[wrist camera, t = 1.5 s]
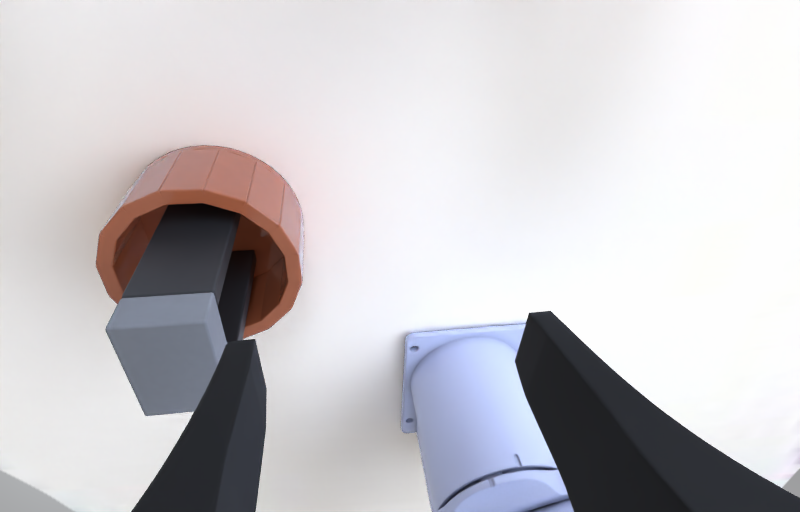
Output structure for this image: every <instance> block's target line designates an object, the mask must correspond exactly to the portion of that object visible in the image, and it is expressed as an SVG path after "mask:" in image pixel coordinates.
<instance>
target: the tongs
mask: <svg viewBox="0 0 800 512" xmlns="http://www.w3.org/2000/svg"><path fill="white" fill-rule="evenodd" d="M240 217H241V214H240V213H236V212H233V211H229V210H226V209H222V208H218V207H215V206H211V205H208V204H204V203H196V204H172V205H168V207H167V209H166V210H165V212H164V214H163V216H162V218H161V220H160V222H159V224H158V226H157V228H156V230H155V232H154V234H153V236H152V238H151V240H150V242H149V244H148V246H147V248H146V250H145V252H144V254H143V256H142V258H141V259H140V261H139V263H138V265H137V267H136V269H135V271H134V273H133V275H132V277H131V279H130V281H129V283H128V285H127V287H126V289H125V291H124V293H123V295H122V299H120V301H119V303H118V305H117V307H116V309H115V311H114V313H113V314H112V316H111V318H110V320H109V322H108V324H107V326H106V333H107V335H108V337H109V339H110V341H111V343H112V345H113V348H114V350H115V352H116V354H117V356H118V358H119V360H120V363H121V365H122V367H123V369H124V371H125V373H126V375H127V378H128V380H129V382H130V384H131V386H132V388H133V390H134V393H135V395H136V397H137V399H138V401H139V403H140V405H141V408H142V410H143V412H144V414H145V415H146V416H152V415H162V414H173V413H183V412H193V411H195V410H196V408H197V406H198V404H199V402H200V400H201V398H202V396H203V395H204V393H205V391H206V389H207V386H208V384H209V382H210V380H211V378H212V376H213V374H214V372H215V370H216V367H217V365H218V363H219V360H220V358H221V356H222V353H223V351H224V348H225V346H226V344H227V343H229V342H230V341H240V340H243V335H244V329H245V324H246V318H247V312H248V306H249V301H250V295H251V289H252V283H253V278H254V272H255V266H256V255H255V251H254V250H243V251H232V249H233V245H234V241H235V237H236V233H237V229H238V225H239V221H240Z"/></svg>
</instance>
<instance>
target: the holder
mask: <svg viewBox="0 0 800 512" xmlns="http://www.w3.org/2000/svg"><path fill="white" fill-rule="evenodd" d="M196 203H204V204H208V205H211V206H215V207H218V208H222V209H226V210H229V211H233V212H236V213H240V214H241V217H240V221H239V225H238V229H237V233H236V237H235V241H234V245H233V249H232V251H243V250H254V251H255V255H256V266H255V272H254V278H253V283H252V289H251V295H250V301H249V306H248V312H247V318H246V324H245V329H244V335H243V339H244V338H247V337H249V336H252V335H254V334H257V333H259V332H262V331H265V330H267V329H269V328H271V327H272V326H273V325H274V324H275V323H276V322H277V321H278V320H279V319H281V318H282V317H283V316H284V315H285V314H286V313H287V312H288V311H290V310H291V308H292V307H293V304H294V302H295V300H296V297H297V295H298V292H299V290H300V287H301V285H302V278H303V254H304V229H303V216H302V210H301V207H300V204H299V201H298V199H297V197H296V195H295V193H294V192H293V190H292V189H291V187H290V186H289V184H288V183H287V182H286V181H285V180H284V179H283V178H282V176H281V175H280V174H278V173H277V172H276V171H275V170H274V169H273V168H271V167H270V166H268V165H267V164H265V163H264V162H263V161H261V160H259V159H257V158H255V157H253V156H251V155H249V154H246V153H244V152H241V151H238V150H234V149H230V148H226V147H219V146H192V147H186V148H182V149H178V150H175V151H172V152H169V153H167V154H165V155H163V156H161V157H160V158H158V159H156V160H155V161H154V162H152V163H151V164H150V165H148V166H147V168H146V169H145V170H144V171H143V172H142V173H141V175H140V176H139V178H138V179H137V180H136V181H135V182H134V184H133V185H132V186H131V187H130V189H129V190H128V192H127V193H126V195H125V196H124V198H123V199H122V201H121V202H120V204H119V205H118V206H117V208H116V209H115V211H114V212H113V214H112V215H111V217H110V218H109V220H108V221H107V223H106V224H105V226H104V227H103V228H102V230H101V231H100V234H99V240H98V248H97V257H96V268H97V270H98V272H99V275H100V277H101V279H102V282H103V284H104V286H105V288H106V291H107V293H108V295H109V297H110V298H111V299H113V300H114V301H115V302H116V303H117V304H118V303H119V301H120V299H122V295H123V293H124V291H125V289H126V287H127V285H128V283H129V281H130V279H131V277H132V275H133V273H134V271H135V269H136V267H137V265H138V263H139V261H140V259H141V258H142V256H143V254H144V252H145V250H146V248H147V246H148V244H149V242H150V240H151V238H152V236H153V234H154V232H155V230H156V228H157V226H158V224H159V222H160V220H161V218H162V216H163V214H164V212H165V210H166V209H167V207H168V205H172V204H196Z"/></svg>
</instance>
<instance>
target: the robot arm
mask: <svg viewBox="0 0 800 512" xmlns="http://www.w3.org/2000/svg"><path fill="white" fill-rule="evenodd" d="M412 346H415V347H412ZM401 429H402V432H404V433H415V432H417V438H418V443H419V448H420V453H421V459H422V464H423V469H424V474H425V480H426V485H427V490H428V495H429V501H430V506H431V510H432V512H800V498H799V497H797V496H795V495H793V494H791V493H789V492H787V491H786V490H784V489H782V488H781V487H779V486H777V485H775V484H774V483H772V482H770V481H768V480H767V479H765V478H763V477H761V476H759V475H758V474H756V473H754V472H753V471H751V470H749V469H748V468H746V467H744V466H743V465H741V464H739V463H738V462H736V461H735V460H733V459H731V458H730V457H728V456H727V455H725V454H724V453H722V452H721V451H719V450H717V449H716V448H714V447H713V446H711V445H710V444H708V443H707V442H705V441H704V440H702V439H701V438H699V437H698V436H696V435H695V434H693V433H692V432H690V431H689V430H688V429H686V428H685V427H684V426H682V425H681V424H679V423H678V422H677V421H675V420H674V419H673V418H671V417H670V416H669V415H667V414H666V413H664V412H663V411H662V410H661V409H659V408H658V407H657V406H655V405H654V404H653V403H652V402H650V401H649V400H648V399H647V398H645V397H644V396H643V395H642V394H641V393H639V392H638V391H637V390H636V389H634V388H633V387H632V386H631V385H630V384H629V383H627V382H626V381H625V380H624V379H623V378H622V377H620V376H619V375H618V374H617V373H616V372H615V371H614V370H612V369H611V368H610V367H609V366H608V365H607V364H606V363H605V362H604V361H603V360H601V359H600V358H599V357H598V356H597V355H596V354H595V353H594V352H593V351H592V350H591V349H590V348H589V347H588V346H586V345H585V344H584V343H583V342H582V341H581V340H580V339H579V338H578V337H577V336H576V335H575V334H574V333H573V332H572V331H571V330H570V329H569V328H568V327H567V326H566V325H565V324H564V323H563V322H561V321H560V320H559V319H558V318H557V317H556V316H555V315H554V314H553V313H552V312H551V311H545V312H535V313H529V315H528V319H527V322H526V324H516V325H503V326H491V327H479V328H466V329H454V330H442V331H429V332H417V333H411V334H409V335H407V337H406V339H405V355H404V375H403V394H402V414H401ZM265 431H266V385H265V380H264V376H263V372H262V367H261V363H260V359H259V354H258V350H257V345H256V341H255V339H251V340H240V341H230V342H229V343H227V344H226V346H225V348H224V351H223V353H222V356H221V358H220V360H219V363H218V365H217V367H216V370H215V372H214V374H213V376H212V378H211V380H210V382H209V384H208V386H207V389H206V391H205V393H204V395H203V396H202V398H201V400H200V402H199V404H198V406H197V408H196V410H195V412H194V413H193V415H192V417H191V419H190V421H189V423H188V424H187V426H186V428H185V430H184V431H183V433H182V435H181V436H180V438H179V440H178V441H177V443H176V445H175V446H174V448H173V450H172V451H171V453H170V455H169V456H168V458H167V460H166V461H165V463H164V464H163V466H162V468H161V469H160V471H159V472H158V474H157V475H156V477H155V478H154V480H153V481H152V483H151V484H150V486H149V487H148V489H147V490H146V492H145V493H144V494H143V496H142V497H141V499H140V500H139V502H138V503H137V504H136V506H135V507H134V509H133V510H132V511H131V512H255V511H256V503H257V496H258V488H259V480H260V472H261V464H262V456H263V448H264V439H265Z"/></svg>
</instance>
